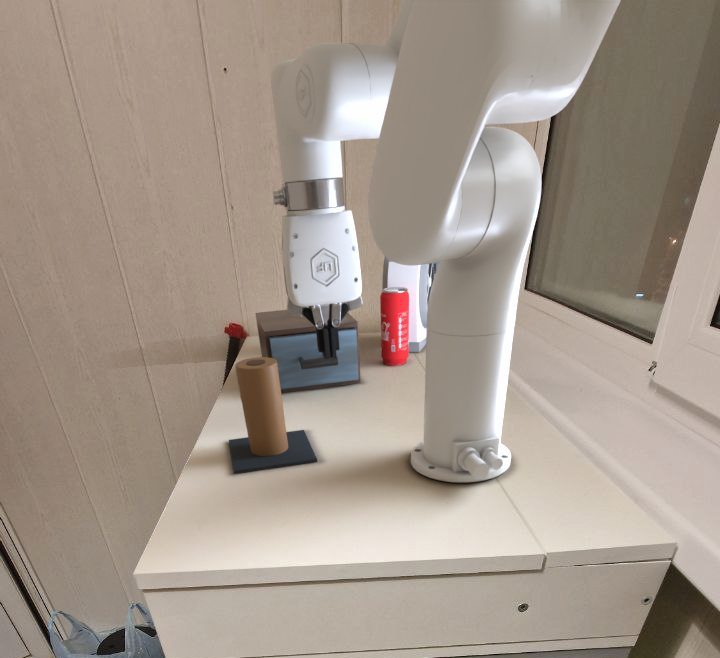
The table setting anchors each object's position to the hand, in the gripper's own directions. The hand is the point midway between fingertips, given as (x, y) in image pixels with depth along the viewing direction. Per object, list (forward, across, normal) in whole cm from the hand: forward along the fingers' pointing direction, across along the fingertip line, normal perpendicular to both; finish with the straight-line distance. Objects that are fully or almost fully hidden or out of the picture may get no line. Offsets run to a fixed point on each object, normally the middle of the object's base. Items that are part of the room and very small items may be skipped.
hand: (329, 356), depth 82 cm
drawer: (+7, 0, +17) cm, 18 cm away
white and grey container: (+8, +24, +34) cm, 42 cm away
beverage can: (+8, +16, +23) cm, 29 cm away
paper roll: (+8, -12, -12) cm, 18 cm away
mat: (+8, -11, -12) cm, 19 cm away
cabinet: (+7, 0, +21) cm, 22 cm away
